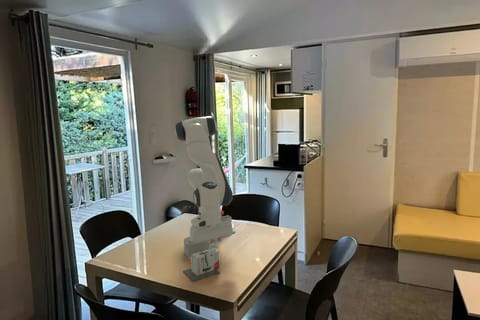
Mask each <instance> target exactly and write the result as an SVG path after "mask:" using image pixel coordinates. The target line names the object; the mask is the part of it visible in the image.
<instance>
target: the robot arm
mask: <svg viewBox="0 0 480 320" xmlns="http://www.w3.org/2000/svg"><path fill="white" fill-rule="evenodd" d="M217 130H218V124H217V121H216V119H215V118H214V117H213V116H212V115H211V116H210V115H209V116H201V117H200V116H199V117H198V116H197V117H194V118H189V119H185V120H180V121H178V122H176V124H175V126H174V133H175V136H176V137H177V140H180V141H182V142H185V147H186V153H187V156H188V158H189V159H190V160H191V161H192V162H194V163H195V164H196V165H197V166H198V167H199V168H192V169H191V170H189V172H188V173H187V182H188V183H189V184H190V185H191V186H192V188H193V190H194V191H193V204H194V205H195V206H196V207H198V213H197V216H195V217H193V218H192V219H191V220H190V224H191V226H190V229H189V237H190V241H191V242H192V243H194V244H196V243H200V242H204V241H206V242H207V243H208V245H209V249H212V248H214V249H216V248H217V244H218V242H219V239H221V238H225V237H228V236H231V235H233V234H234V233H236V229H235V228H234V227H233V225H232V223H233V221H232V216H230V215H228V214H227V215H224V213H225V212H224V211H223V210H221V208H220V207H222V206H223V207H225V206H226V207H227V206H228V205H230V204H231V202H232V201H233V199H234V195H233V193H234V192H233V190H232V188H231V186H230V184H229V181H228V176H227V174H226V172H225V170H224V167H223V166H222V162H221V160H220V158H219V156H218V154H217V153H214V151H213V150H212V147H211V142H210V137H212V136H214V135H215V134H216V133H217ZM212 240H213V242H212ZM211 242H212V243H211Z"/></svg>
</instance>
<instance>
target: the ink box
mask: <svg viewBox="0 0 480 320" xmlns="http://www.w3.org/2000/svg"><path fill="white" fill-rule="evenodd" d="M190 262H191V263H190V266H191V267H190V268H192V272H193V273H194V274H195V275H197V276H198V275H201V274H204V273H207V272H210V271H213V270H216V269H217V270H219V269H220V251H219V250H218V249H216V248H212V249H208V250H205V251H201V252H198V253H194V254H191V258H190Z"/></svg>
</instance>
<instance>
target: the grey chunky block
mask: <svg viewBox="0 0 480 320" xmlns="http://www.w3.org/2000/svg"><path fill="white" fill-rule="evenodd" d="M183 246H184V247H183V248H184V255H185V256H186V258H188V259H191V254H194V253H198V252H201V251H205V250H208V249H209V245H208V243H207V242H206V241H204V242H200V243H196V244H194V243H192V242H191V241H190V236H188V237H186V238H184V240H183Z"/></svg>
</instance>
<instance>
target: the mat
mask: <svg viewBox="0 0 480 320" xmlns="http://www.w3.org/2000/svg"><path fill="white" fill-rule="evenodd" d="M182 272H183V274H185V275H186V276H187V277H188V278H189V279H190V280H191V281H192V282H196V281H200V280H203V279H207V278H210V277H213V276H215V275H219V274H221V272H220V271H219V269H216V270H213V271H210V272H207V273H204V274H201V275H198V276H197V275H195V274H194V273H193V272H192V268H191V267H190V268H188V269H183V270H182Z"/></svg>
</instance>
